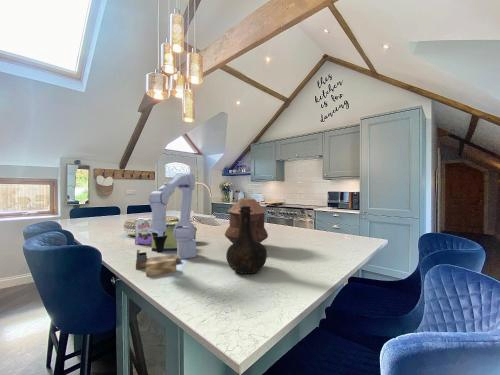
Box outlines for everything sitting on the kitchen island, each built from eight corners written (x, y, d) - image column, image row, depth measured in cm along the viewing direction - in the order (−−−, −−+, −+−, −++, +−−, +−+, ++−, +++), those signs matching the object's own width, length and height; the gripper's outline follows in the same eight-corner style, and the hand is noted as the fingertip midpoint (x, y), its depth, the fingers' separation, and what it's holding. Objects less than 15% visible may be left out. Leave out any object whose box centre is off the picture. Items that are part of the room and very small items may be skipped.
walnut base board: (177, 259, 120) (177, 254, 120) (179, 263, 113) (179, 257, 113) (135, 264, 111) (135, 259, 111) (135, 269, 105) (135, 263, 105)
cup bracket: (146, 258, 113) (146, 249, 113) (146, 261, 107) (146, 252, 107) (136, 259, 111) (136, 250, 111) (136, 263, 106) (136, 253, 106)
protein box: (178, 250, 135) (177, 224, 135) (151, 251, 136) (150, 224, 136) (183, 246, 146) (183, 221, 146) (158, 246, 146) (158, 221, 146)
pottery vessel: (230, 242, 153) (229, 197, 153) (269, 243, 150) (268, 196, 150) (219, 254, 128) (219, 199, 128) (266, 255, 124) (266, 199, 124)
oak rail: (175, 269, 105) (175, 258, 105) (176, 271, 102) (176, 260, 102) (146, 273, 100) (145, 262, 100) (146, 276, 97) (146, 264, 97)
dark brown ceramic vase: (259, 280, 91) (259, 208, 91) (218, 274, 97) (218, 207, 97) (271, 265, 108) (271, 205, 108) (236, 261, 114) (235, 204, 114)
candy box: (134, 244, 152) (134, 219, 152) (140, 242, 158) (139, 217, 158) (153, 244, 150) (153, 219, 150) (159, 242, 156) (158, 218, 156)
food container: (192, 245, 148) (192, 229, 148) (183, 244, 149) (183, 229, 149) (200, 240, 160) (200, 226, 160) (191, 240, 162) (191, 226, 162)
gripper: (148, 217, 106) (148, 247, 106) (149, 221, 93) (149, 255, 93) (165, 216, 109) (165, 245, 109) (168, 220, 96) (168, 253, 96)
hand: (159, 250), depth 101 cm, fingers open, 7 cm apart
